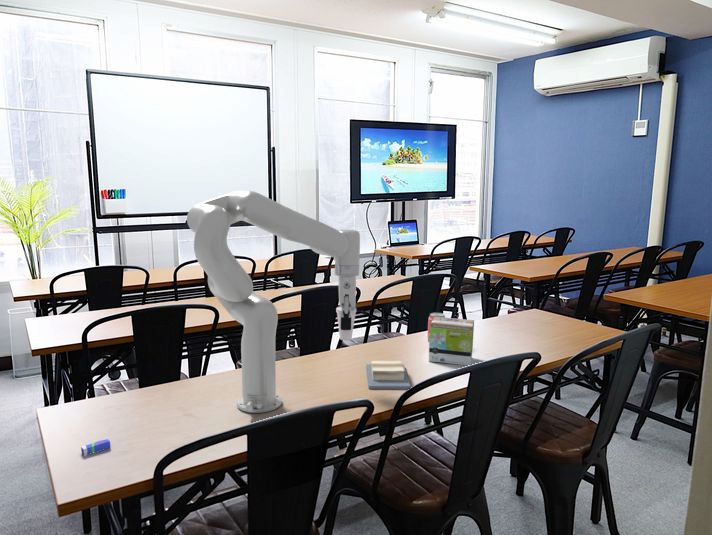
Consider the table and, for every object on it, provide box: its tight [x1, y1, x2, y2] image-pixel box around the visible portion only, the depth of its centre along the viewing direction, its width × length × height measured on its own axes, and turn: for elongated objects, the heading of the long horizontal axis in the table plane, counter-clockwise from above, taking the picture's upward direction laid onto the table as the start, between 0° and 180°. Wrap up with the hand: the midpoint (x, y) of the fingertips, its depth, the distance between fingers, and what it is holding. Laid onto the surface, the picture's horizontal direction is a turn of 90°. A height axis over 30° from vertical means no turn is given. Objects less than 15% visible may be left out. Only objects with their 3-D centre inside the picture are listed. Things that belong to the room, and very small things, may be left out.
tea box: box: [428, 317, 475, 367], centre depth 195 cm, size 15×10×15 cm, turn 74°
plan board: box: [365, 363, 411, 390], centre depth 178 cm, size 20×13×1 cm, turn 1°
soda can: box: [427, 312, 446, 343], centre depth 215 cm, size 7×7×12 cm
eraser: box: [81, 438, 111, 456], centre depth 128 cm, size 2×6×2 cm, turn 130°
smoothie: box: [335, 306, 357, 341], centre depth 168 cm, size 6×6×14 cm
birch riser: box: [370, 360, 404, 380], centre depth 178 cm, size 10×10×3 cm
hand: (345, 326), depth 169 cm, fingers closed on smoothie, 6 cm apart
